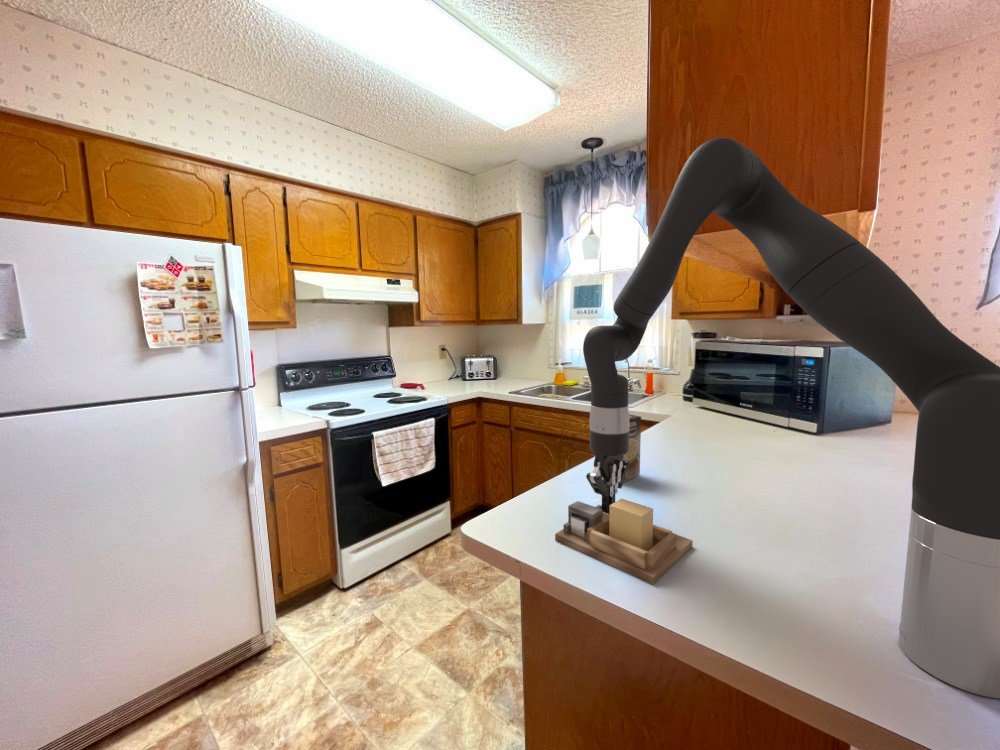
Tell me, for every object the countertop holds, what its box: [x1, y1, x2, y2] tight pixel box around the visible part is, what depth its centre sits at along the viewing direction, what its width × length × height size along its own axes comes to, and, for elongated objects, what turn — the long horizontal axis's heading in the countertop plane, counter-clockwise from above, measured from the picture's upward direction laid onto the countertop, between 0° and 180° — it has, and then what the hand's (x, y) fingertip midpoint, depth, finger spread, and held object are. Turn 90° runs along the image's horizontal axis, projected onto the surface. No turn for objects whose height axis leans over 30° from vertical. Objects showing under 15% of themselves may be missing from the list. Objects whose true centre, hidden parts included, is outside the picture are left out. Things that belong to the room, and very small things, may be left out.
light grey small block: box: [571, 514, 589, 538], centre depth 76 cm, size 3×5×3 cm, turn 134°
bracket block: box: [609, 498, 654, 551], centre depth 70 cm, size 6×4×7 cm, turn 43°
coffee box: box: [623, 413, 642, 482], centre depth 106 cm, size 9×6×16 cm
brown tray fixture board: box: [554, 500, 694, 585], centre depth 73 cm, size 19×15×6 cm
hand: (608, 511), depth 82 cm, fingers closed
